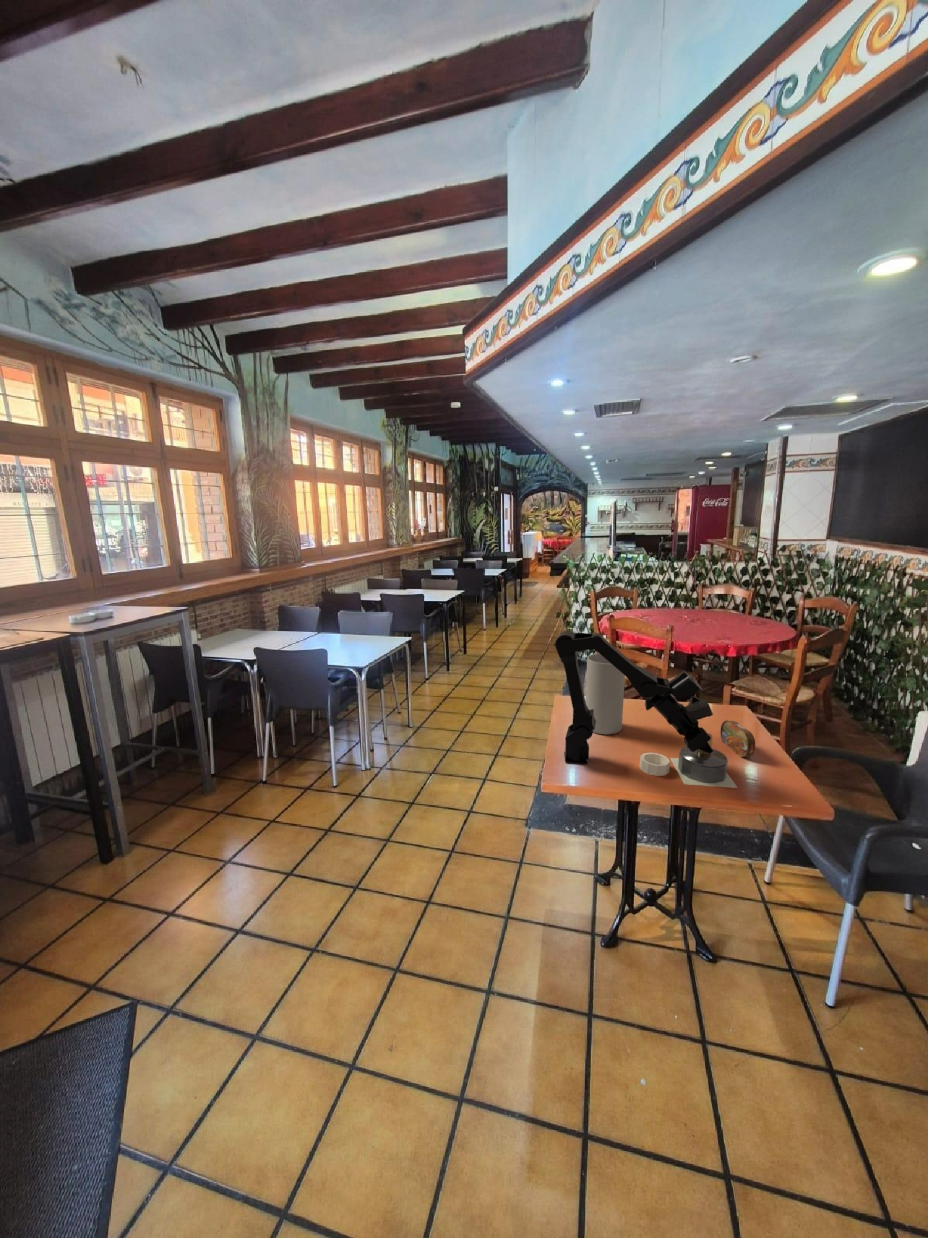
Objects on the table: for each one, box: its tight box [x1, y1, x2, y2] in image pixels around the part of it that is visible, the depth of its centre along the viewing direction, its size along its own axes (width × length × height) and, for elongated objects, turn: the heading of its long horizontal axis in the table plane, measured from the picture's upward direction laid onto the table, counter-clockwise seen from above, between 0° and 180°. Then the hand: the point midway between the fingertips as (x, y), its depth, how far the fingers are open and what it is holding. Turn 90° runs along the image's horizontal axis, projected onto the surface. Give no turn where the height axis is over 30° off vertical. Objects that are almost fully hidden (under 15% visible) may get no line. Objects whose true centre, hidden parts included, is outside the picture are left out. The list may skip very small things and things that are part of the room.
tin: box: [719, 719, 756, 758], centre depth 152 cm, size 15×3×8 cm, turn 1°
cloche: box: [678, 733, 729, 783], centre depth 139 cm, size 12×12×11 cm
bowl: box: [639, 752, 671, 777], centre depth 142 cm, size 8×8×4 cm
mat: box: [669, 757, 738, 789], centre depth 140 cm, size 14×15×1 cm
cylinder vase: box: [585, 653, 626, 736], centre depth 168 cm, size 12×12×25 cm
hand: (709, 749), depth 138 cm, fingers closed on cloche, 4 cm apart
